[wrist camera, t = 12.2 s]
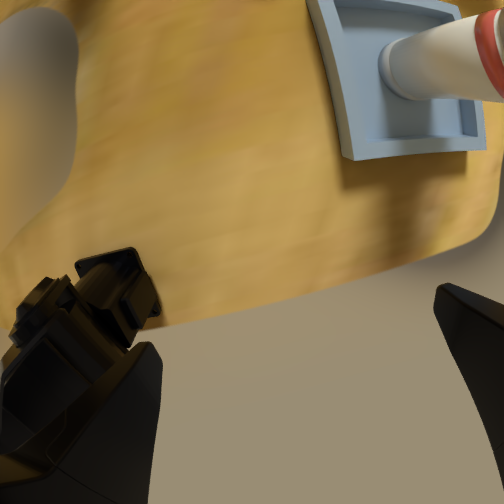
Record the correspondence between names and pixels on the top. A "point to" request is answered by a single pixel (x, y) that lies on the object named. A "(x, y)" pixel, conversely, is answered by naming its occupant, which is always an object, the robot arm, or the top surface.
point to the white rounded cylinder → (449, 61)
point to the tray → (374, 89)
